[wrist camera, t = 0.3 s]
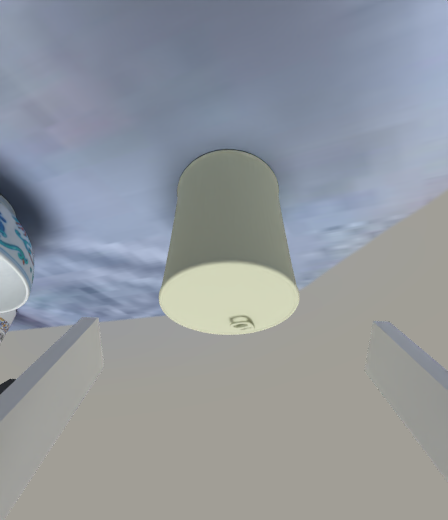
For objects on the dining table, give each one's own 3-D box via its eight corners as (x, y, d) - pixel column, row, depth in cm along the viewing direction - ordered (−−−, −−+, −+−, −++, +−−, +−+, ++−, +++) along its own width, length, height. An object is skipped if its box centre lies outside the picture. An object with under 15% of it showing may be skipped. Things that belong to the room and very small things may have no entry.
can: (206, 241, 30) (200, 348, 22) (156, 174, 24) (124, 293, 16) (289, 214, 27) (315, 328, 19) (258, 129, 20) (278, 250, 13)
